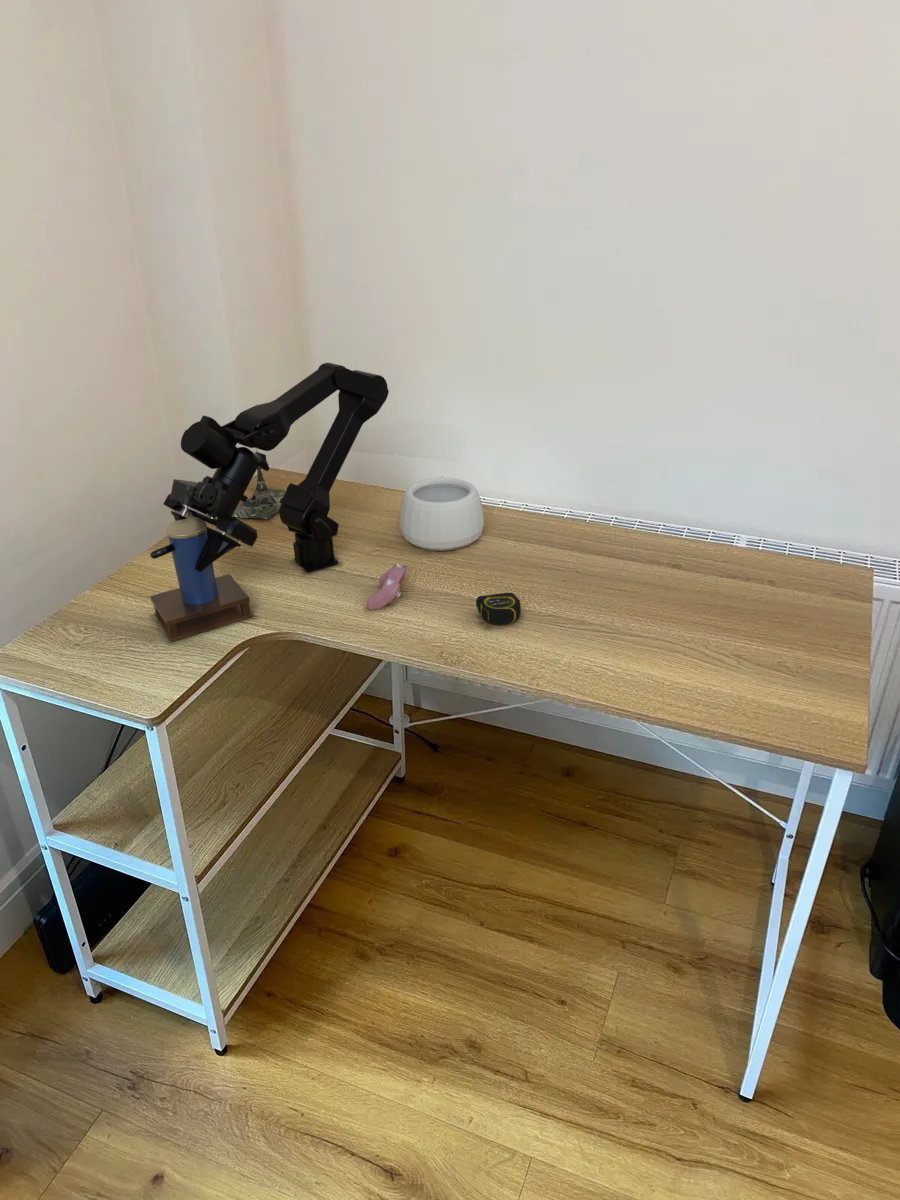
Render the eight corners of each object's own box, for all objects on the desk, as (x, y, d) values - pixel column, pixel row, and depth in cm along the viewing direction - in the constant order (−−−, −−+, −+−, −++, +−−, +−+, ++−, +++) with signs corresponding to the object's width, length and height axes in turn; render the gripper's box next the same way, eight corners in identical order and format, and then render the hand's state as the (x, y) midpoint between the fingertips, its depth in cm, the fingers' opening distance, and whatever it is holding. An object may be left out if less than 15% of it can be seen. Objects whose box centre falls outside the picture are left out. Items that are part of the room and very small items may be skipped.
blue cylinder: (205, 582, 149) (191, 514, 143) (227, 594, 145) (214, 524, 139) (153, 606, 143) (136, 536, 136) (175, 619, 139) (159, 547, 132)
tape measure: (514, 607, 147) (515, 588, 146) (525, 627, 142) (525, 608, 140) (475, 611, 146) (475, 592, 145) (484, 632, 141) (484, 612, 139)
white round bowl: (484, 554, 165) (484, 506, 160) (398, 555, 165) (395, 508, 160) (482, 508, 183) (482, 464, 178) (404, 510, 184) (402, 466, 179)
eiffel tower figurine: (268, 522, 180) (259, 461, 173) (226, 516, 183) (216, 456, 177) (302, 495, 192) (296, 437, 185) (263, 489, 195) (255, 433, 189)
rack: (232, 593, 154) (229, 573, 152) (252, 617, 147) (249, 597, 145) (154, 616, 148) (149, 596, 146) (171, 642, 140) (166, 621, 138)
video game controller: (386, 620, 148) (402, 590, 144) (363, 608, 147) (378, 577, 144) (401, 592, 156) (416, 563, 152) (378, 580, 156) (393, 551, 152)
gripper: (162, 446, 141) (116, 530, 140) (230, 472, 131) (182, 563, 129) (210, 476, 150) (167, 555, 149) (278, 503, 140) (233, 588, 138)
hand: (185, 564), depth 141 cm, fingers closed on blue cylinder, 6 cm apart
